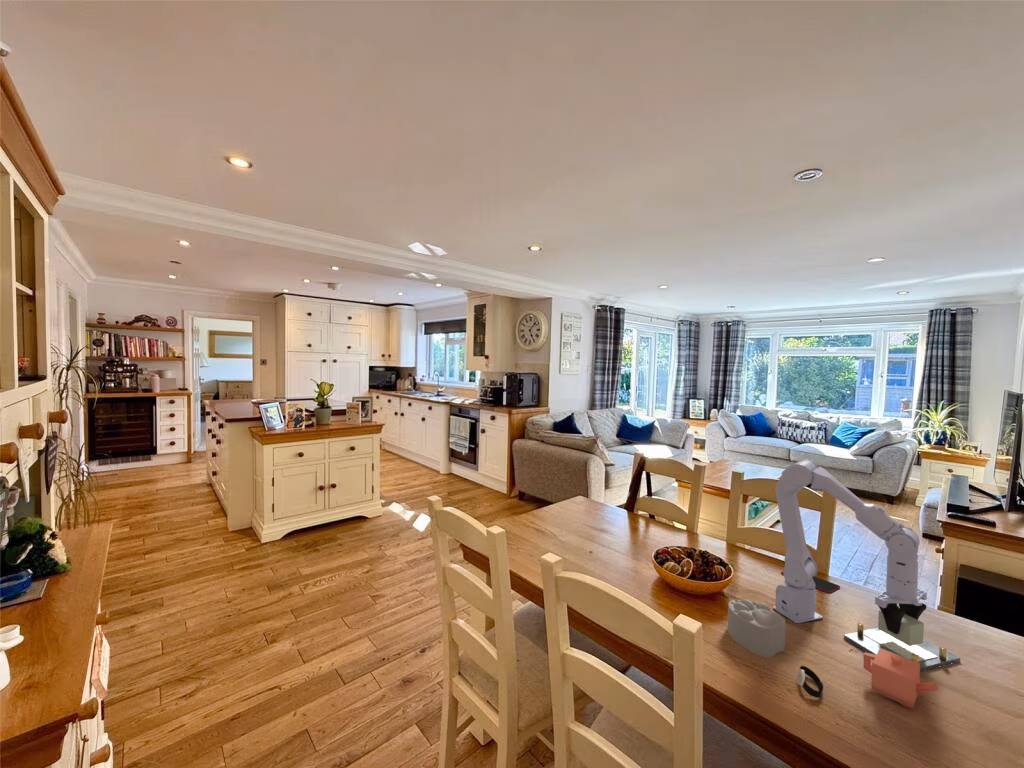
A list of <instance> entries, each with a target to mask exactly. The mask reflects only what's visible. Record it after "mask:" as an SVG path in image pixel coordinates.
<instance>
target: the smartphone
mask: <svg viewBox="0 0 1024 768" xmlns="http://www.w3.org/2000/svg"><path fill="white" fill-rule="evenodd" d="M780 574H781V576H784V574H783V571H781V572H780ZM813 580H814V583H815V590H816V589H817V590H819V591H821V592H823V593H826V594H832V593H834V592H835V591H838V590H839V589H841V587H840V585H838V584H836V583H833V582H830V581H828V580H825V579H823V578H820V577H818V576H816V575H815V576H813Z"/></svg>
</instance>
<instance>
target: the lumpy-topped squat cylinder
mask: <svg viewBox="0 0 1024 768" xmlns="http://www.w3.org/2000/svg"><path fill="white" fill-rule="evenodd" d="M727 632H728V635H729V634H730V635H729V636H730V638H731V639H732V638H733V639H732V640H733V641H734V642H735V641H736V643H737V644H738V645H740V646H742V647H743V648H745V649H746V650H748V651H750V652H751V653H753V654H756V655H758V656H760V657H764V658H765V657H766V658H772V657H774V656H775V655H777V654H778V653H781V652H783V651H785V649H786V619H785V618H784V617H783V616H782V615H781V614H779V613H778V612H776V611H773V610H772V609H771V607H770V606H769V605H767V603H764V602H755V601H753V602H752V600H751V601H750V600H749V599H745V598H744V599H732V600H730V601H729V602H728V604H727Z"/></svg>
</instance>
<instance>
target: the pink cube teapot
mask: <svg viewBox="0 0 1024 768" xmlns="http://www.w3.org/2000/svg"><path fill="white" fill-rule="evenodd" d="M872 661H873V662H872ZM863 669H865V670H866V671H867V672H868V673H870V674H871V691H872V692H875V693H876V694H877V695H879V696H881V697H886V698H888V699H891V700H893V701H894V702H895V701H896V702H897V703H899V704H901V705H902V706H903V707H905V708H909V709H912V710H913V709H914V708H915V704H916V702H917V698H918V695H919V693H924V692H925V693H927V692H939V691H940V690H939V687H938V686H937V684H936V682H934V681H929V682H921V681H920V679H921V672H920V663H918V662H915V661H913V660H910V659H907V658H905V657H902V656H900V655H897V654H895V653H892V652H889V651H887V650H884V649H882V648H880V649H879V651H878V653H877V655H874V654H870V653H867V652H865V651H864V653H863Z"/></svg>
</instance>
